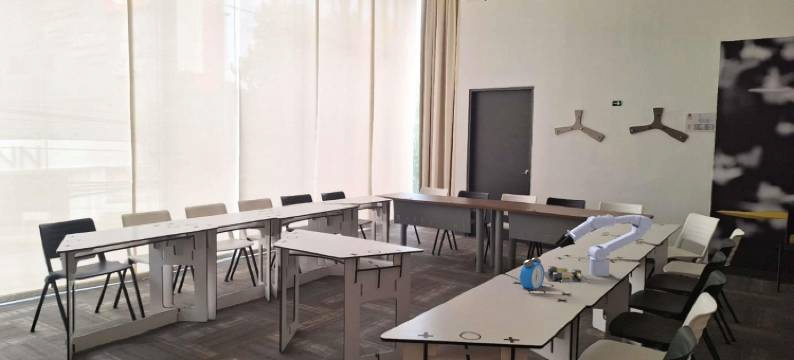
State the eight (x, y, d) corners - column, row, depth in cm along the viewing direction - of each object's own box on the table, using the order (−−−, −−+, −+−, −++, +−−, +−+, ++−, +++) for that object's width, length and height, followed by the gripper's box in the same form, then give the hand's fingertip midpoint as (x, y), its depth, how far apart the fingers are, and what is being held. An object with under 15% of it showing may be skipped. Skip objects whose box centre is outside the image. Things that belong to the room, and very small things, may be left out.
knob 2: (553, 280, 264) (554, 273, 264) (552, 277, 269) (552, 271, 268) (574, 280, 263) (574, 274, 263) (572, 278, 268) (572, 272, 268)
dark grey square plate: (579, 274, 281) (579, 270, 281) (589, 284, 261) (590, 280, 261) (541, 273, 283) (541, 269, 282) (548, 284, 263) (548, 279, 263)
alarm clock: (530, 293, 247) (531, 261, 246) (518, 290, 251) (519, 259, 250) (544, 287, 256) (545, 257, 255) (533, 285, 260) (533, 255, 259)
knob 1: (548, 274, 276) (549, 268, 276) (547, 272, 280) (547, 266, 280) (568, 274, 275) (568, 268, 275) (566, 272, 280) (566, 266, 279)
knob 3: (571, 275, 274) (571, 269, 273) (579, 275, 273) (580, 269, 273) (576, 280, 264) (576, 274, 263) (585, 280, 263) (585, 274, 263)
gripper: (571, 224, 283) (550, 238, 283) (579, 226, 268) (557, 240, 268) (578, 235, 282) (557, 249, 282) (587, 237, 268) (565, 252, 268)
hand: (557, 245), depth 275 cm, fingers open, 7 cm apart
